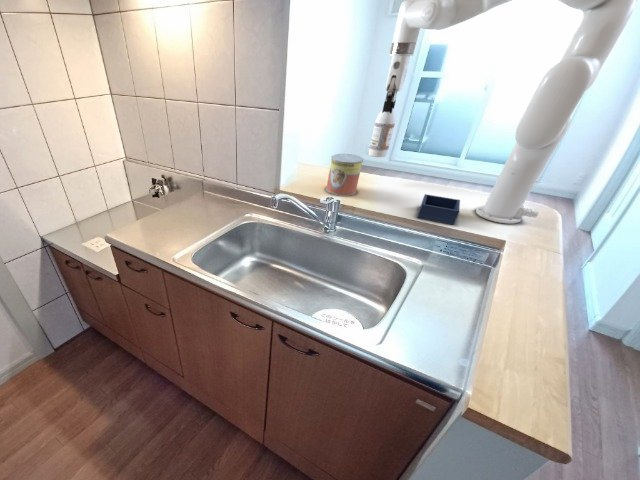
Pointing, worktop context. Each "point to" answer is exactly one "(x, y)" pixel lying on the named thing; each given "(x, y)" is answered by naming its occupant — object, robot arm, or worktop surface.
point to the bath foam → (382, 134)
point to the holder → (439, 209)
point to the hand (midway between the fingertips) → (387, 113)
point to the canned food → (344, 174)
